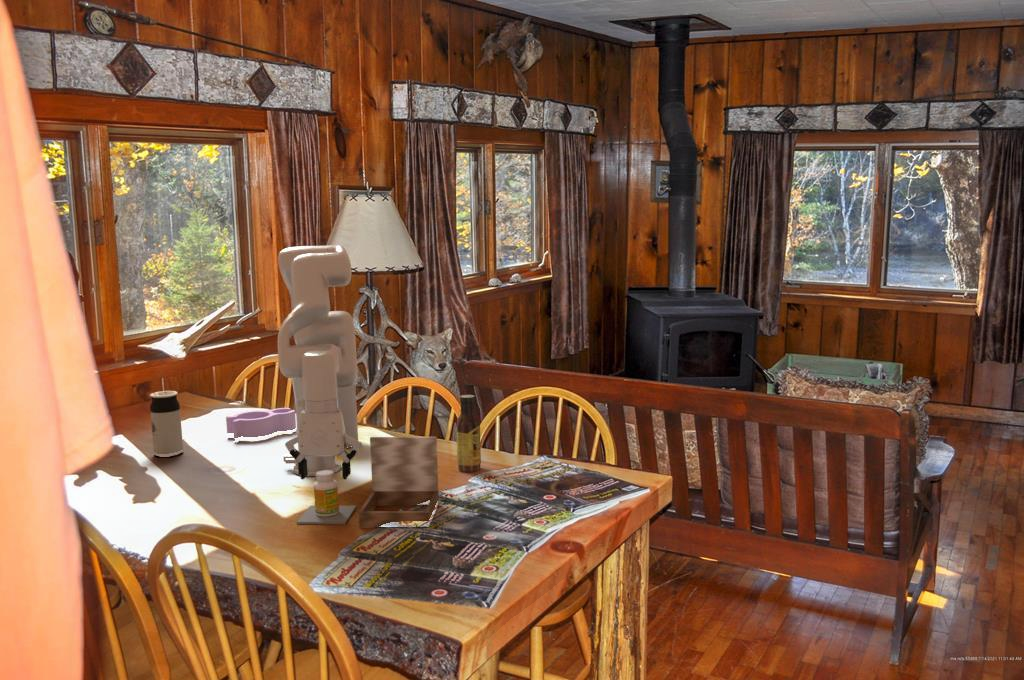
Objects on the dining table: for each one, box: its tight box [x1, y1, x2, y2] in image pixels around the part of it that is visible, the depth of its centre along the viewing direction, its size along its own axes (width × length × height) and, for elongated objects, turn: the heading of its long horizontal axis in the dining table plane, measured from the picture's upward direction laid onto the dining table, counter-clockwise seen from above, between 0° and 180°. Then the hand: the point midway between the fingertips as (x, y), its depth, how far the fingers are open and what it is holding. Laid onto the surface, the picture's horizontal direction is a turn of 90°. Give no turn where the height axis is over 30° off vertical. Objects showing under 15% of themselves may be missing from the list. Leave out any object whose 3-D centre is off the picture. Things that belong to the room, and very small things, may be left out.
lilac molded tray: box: [225, 407, 297, 438], centre depth 291 cm, size 20×12×7 cm, turn 124°
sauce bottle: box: [456, 394, 482, 473], centre depth 249 cm, size 6×6×20 cm
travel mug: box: [149, 390, 184, 454], centre depth 270 cm, size 8×8×18 cm
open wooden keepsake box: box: [358, 436, 440, 529], centre depth 214 cm, size 16×16×16 cm
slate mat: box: [296, 505, 357, 525], centre depth 216 cm, size 11×11×1 cm
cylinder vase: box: [337, 383, 359, 449], centre depth 276 cm, size 12×12×25 cm
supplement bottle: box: [313, 470, 340, 517], centre depth 216 cm, size 5×5×10 cm
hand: (325, 477), depth 216 cm, fingers open, 9 cm apart
